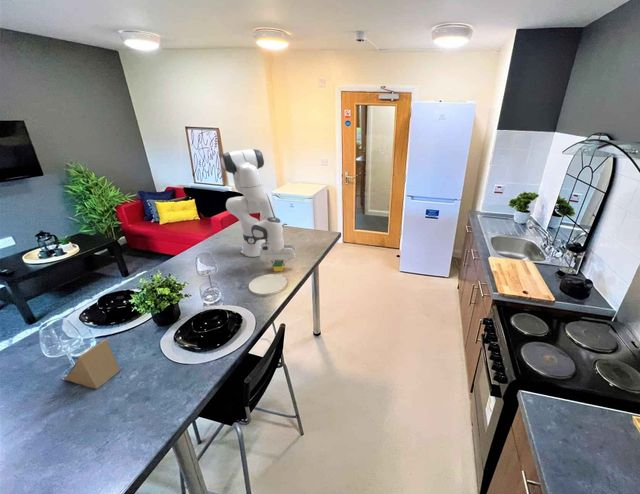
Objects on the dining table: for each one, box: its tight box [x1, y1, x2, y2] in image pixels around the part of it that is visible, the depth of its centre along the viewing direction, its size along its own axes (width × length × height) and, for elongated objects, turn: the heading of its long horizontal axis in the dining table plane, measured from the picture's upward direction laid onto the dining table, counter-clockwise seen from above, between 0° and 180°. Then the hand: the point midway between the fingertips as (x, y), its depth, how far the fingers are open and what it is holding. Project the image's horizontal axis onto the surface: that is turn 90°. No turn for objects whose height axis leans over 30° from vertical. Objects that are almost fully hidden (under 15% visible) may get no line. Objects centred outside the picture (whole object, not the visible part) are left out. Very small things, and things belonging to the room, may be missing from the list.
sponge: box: [272, 260, 285, 272], centre depth 173 cm, size 8×5×4 cm, turn 6°
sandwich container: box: [64, 338, 121, 390], centre depth 101 cm, size 9×15×15 cm, turn 76°
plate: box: [248, 273, 288, 295], centre depth 159 cm, size 20×20×2 cm
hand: (279, 265), depth 173 cm, fingers closed on sponge, 5 cm apart
